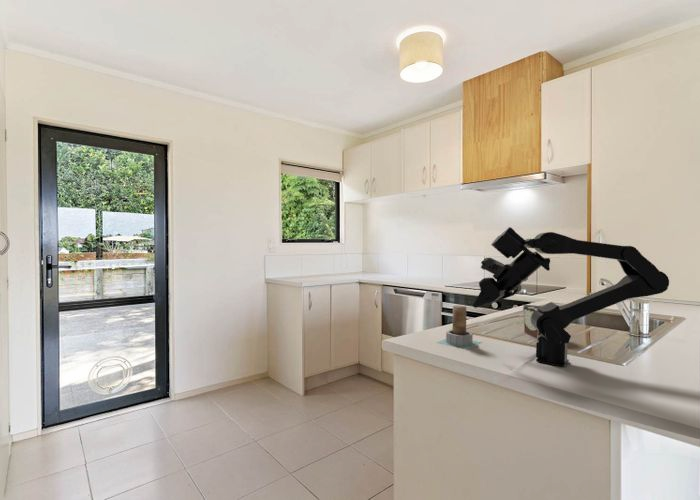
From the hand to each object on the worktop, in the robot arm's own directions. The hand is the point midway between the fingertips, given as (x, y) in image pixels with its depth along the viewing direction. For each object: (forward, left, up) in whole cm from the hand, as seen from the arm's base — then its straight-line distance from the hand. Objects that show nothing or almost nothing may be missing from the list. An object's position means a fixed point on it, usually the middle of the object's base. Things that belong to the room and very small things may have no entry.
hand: (480, 304), depth 106 cm
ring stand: (+6, 0, -13) cm, 15 cm away
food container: (-9, -30, -14) cm, 34 cm away
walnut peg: (+6, 0, -12) cm, 14 cm away
